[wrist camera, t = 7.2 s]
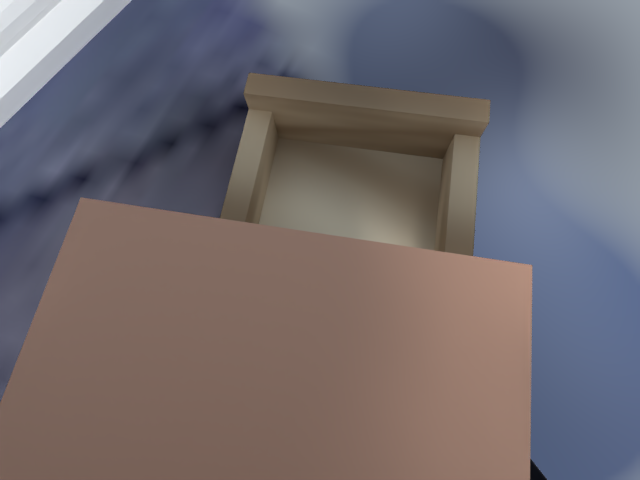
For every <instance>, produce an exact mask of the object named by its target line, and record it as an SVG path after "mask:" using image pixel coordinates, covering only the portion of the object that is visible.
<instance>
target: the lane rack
mask: <svg viewBox="0 0 640 480" xmlns="http://www.w3.org/2000/svg"><path fill="white" fill-rule="evenodd" d="M244 96H245V99H246V102H247V105H248V108H249V110H248V114H247V117H246V121H245V125H244V129H243V133H242V136H241V140H240V144H239V148H238V151H237V155H236V159H235V163H234V167H233V170H232V174H231V178H230V182H229V185H228V189H227V193H226V197H225V200H224V204H223V208H222V212H221V216H220V218H221V219H228V220H234V221H241V222H248V223H254V224H261V225H268V226H274V227H281V228H288V229H294V230H301V231H308V232H314V233H321V234H328V235H334V236H341V237H348V238H355V239H361V240H368V241H375V242H381V243H388V244H395V245H401V246H408V247H415V248H421V249H428V250H435V251H441V252H448V253H455V254H461V255H468V256H473V249H474V233H475V215H476V200H477V184H478V167H479V151H480V137H481V135H482V133H483V132H484V130H485V128H486V127H487V125H488V124H489V116H490V100H485V99H477V98H468V97H459V96H450V95H441V94H432V93H424V92H415V91H406V90H397V89H389V88H379V87H371V86H362V85H353V84H344V83H336V82H327V81H318V80H309V79H300V78H291V77H283V76H274V75H265V74H256V73H249V75H248V79H247V82H246V86H245V89H244Z"/></svg>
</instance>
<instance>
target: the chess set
mask: <svg viewBox="0 0 640 480" xmlns="http://www.w3.org/2000/svg"><path fill="white" fill-rule="evenodd" d="M131 1H132V0H0V128H1V127H2V126H3V125H4V124H5V123H6V122H7V121H8V120H9V119H10V118H11V117H12V116H13V115H14V114H15V113H16V112H17V111H18V110H19V109H20V108H21V107H22V106H23V105H24V104H25V103H26V102H28V101H29V100H30V99H31V98H32V97H33V96H34V95H35V94H36V93H37V92H38V91H39V90H40V89H41V88H42V87H43V86H44V85H45V84H46V83H47V82H48V81H49V80H50V79H51V78H52V77H53V76H54V75H55V74H56V73H57V72H58V71H59V70H60V69H62V68H63V67H64V66H65V65H66V64H67V63H68V62H69V61H70V60H71V59H72V58H73V57H74V56H75V55H76V54H77V53H78V52H79V51H80V50H81V49H82V48H83V47H84V46H85V45H86V44H87V43H88V42H89V41H90V40H91V39H92V38H93V37H94V36H95V35H97V34H98V33H99V32H100V31H101V30H102V29H103V28H104V27H105V26H106V25H107V24H108V23H109V22H110V21H111V20H112V19H113V18H114V17H115V16H116V15H117V14H118V13H119V12H120V11H121V10H122V9H123V8H124V7H125V6H126V5H127V4H128V3H129V2H131Z"/></svg>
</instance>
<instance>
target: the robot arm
mask: <svg viewBox="0 0 640 480" xmlns="http://www.w3.org/2000/svg"><path fill="white" fill-rule="evenodd" d="M530 480H547V479H546V478H545V476H544V475H543V474H542V472H541V471H540V470H539V469H538V467H537V466H536V465H535V464H534V462H533V461H532V460H531V459H530Z"/></svg>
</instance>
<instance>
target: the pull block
mask: <svg viewBox="0 0 640 480" xmlns="http://www.w3.org/2000/svg"><path fill="white" fill-rule="evenodd" d="M531 335H532V265H528V264H521V263H514V262H508V261H501V260H495V259H488V258H481V257H475V256H468V255H461V254H455V253H448V252H441V251H435V250H428V249H421V248H415V247H408V246H401V245H395V244H388V243H381V242H375V241H368V240H361V239H355V238H348V237H341V236H334V235H328V234H321V233H314V232H308V231H301V230H294V229H288V228H281V227H274V226H268V225H261V224H254V223H248V222H241V221H234V220H228V219H221V218H214V217H208V216H201V215H194V214H188V213H181V212H174V211H167V210H161V209H154V208H147V207H141V206H134V205H127V204H121V203H114V202H107V201H101V200H94V199H87V198H80V201H79V204H78V206H77V209H76V211H75V214H74V216H73V219H72V221H71V224H70V226H69V229H68V232H67V234H66V237H65V239H64V242H63V244H62V247H61V249H60V252H59V255H58V257H57V260H56V262H55V265H54V267H53V270H52V272H51V275H50V277H49V280H48V283H47V285H46V288H45V290H44V293H43V295H42V298H41V300H40V303H39V306H38V308H37V311H36V313H35V316H34V318H33V321H32V323H31V326H30V328H29V331H28V334H27V336H26V339H25V341H24V344H23V346H22V349H21V351H20V354H19V356H18V359H17V362H16V364H15V367H14V369H13V372H12V374H11V377H10V379H9V382H8V385H7V387H6V390H5V392H4V395H3V397H2V400H1V402H0V480H530V440H531V436H530V435H531V340H532V336H531Z"/></svg>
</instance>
